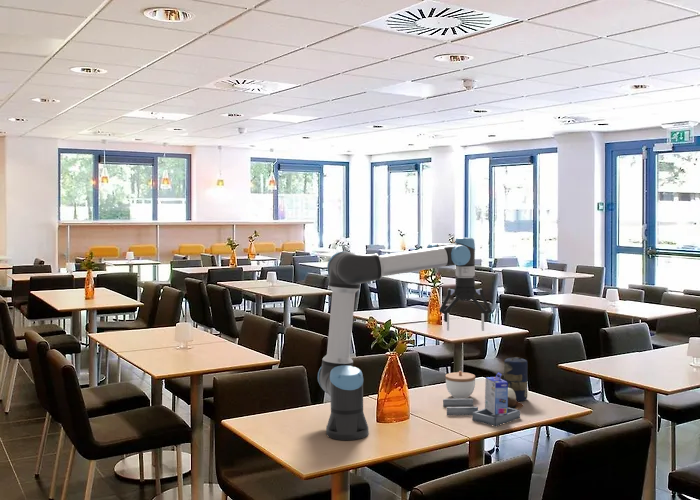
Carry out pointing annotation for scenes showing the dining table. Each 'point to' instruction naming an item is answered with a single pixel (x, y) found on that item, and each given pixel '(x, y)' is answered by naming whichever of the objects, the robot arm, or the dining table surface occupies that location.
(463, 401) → the dock rails
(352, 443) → the dining table surface
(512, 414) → the tray
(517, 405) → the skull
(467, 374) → the lidded bowl
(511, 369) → the canister
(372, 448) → the dining table surface
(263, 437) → the dining table surface
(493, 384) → the ink cartridge box
